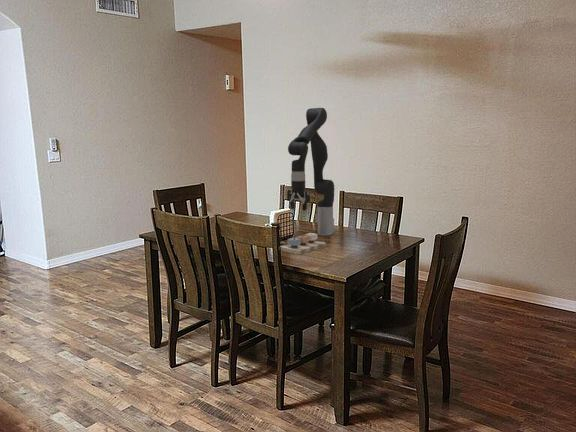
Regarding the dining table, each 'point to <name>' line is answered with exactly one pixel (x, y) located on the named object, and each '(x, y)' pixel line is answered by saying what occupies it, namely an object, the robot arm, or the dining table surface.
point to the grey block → (294, 241)
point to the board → (303, 247)
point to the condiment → (279, 229)
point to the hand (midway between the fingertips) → (298, 209)
